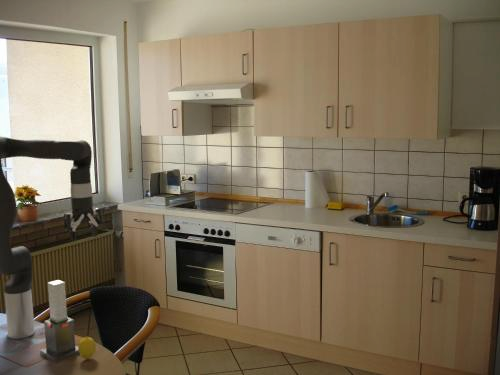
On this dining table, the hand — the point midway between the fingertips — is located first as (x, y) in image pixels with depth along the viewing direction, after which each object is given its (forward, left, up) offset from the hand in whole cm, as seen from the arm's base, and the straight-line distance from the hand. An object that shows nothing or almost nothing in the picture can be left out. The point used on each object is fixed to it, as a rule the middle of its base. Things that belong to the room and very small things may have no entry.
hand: (84, 238), depth 201 cm
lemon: (+20, -14, -36) cm, 44 cm away
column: (+9, -17, -29) cm, 35 cm away
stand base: (+9, -17, -36) cm, 41 cm away
